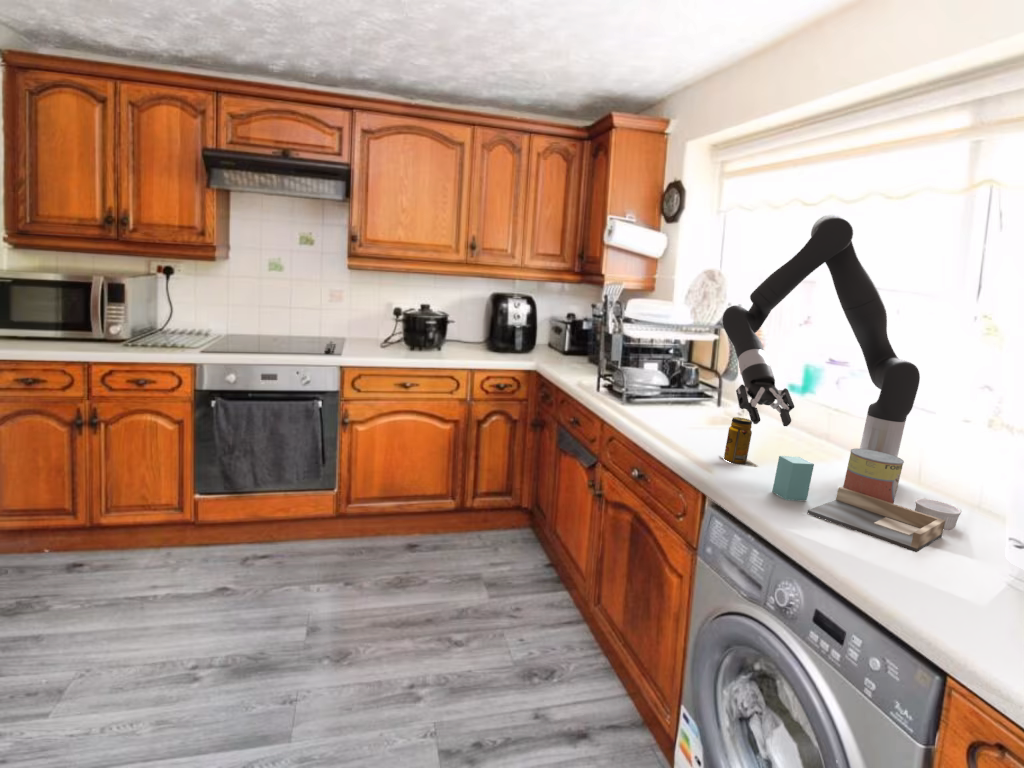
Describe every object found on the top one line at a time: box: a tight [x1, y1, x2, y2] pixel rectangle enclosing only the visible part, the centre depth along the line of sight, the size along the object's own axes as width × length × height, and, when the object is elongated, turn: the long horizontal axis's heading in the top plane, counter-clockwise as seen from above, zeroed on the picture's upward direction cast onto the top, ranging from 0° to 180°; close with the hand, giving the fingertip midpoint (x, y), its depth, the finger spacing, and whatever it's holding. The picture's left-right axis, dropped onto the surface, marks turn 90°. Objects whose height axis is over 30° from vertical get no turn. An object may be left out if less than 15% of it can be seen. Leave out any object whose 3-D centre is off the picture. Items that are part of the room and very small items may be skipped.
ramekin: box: [914, 498, 962, 531], centre depth 151 cm, size 9×9×4 cm
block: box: [772, 455, 815, 501], centre depth 158 cm, size 6×6×9 cm
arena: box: [806, 486, 946, 553], centre depth 145 cm, size 16×22×4 cm
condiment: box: [723, 416, 759, 467], centre depth 184 cm, size 7×8×12 cm
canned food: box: [842, 448, 905, 504], centre depth 159 cm, size 11×11×12 cm
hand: (772, 423), depth 168 cm, fingers open, 8 cm apart
